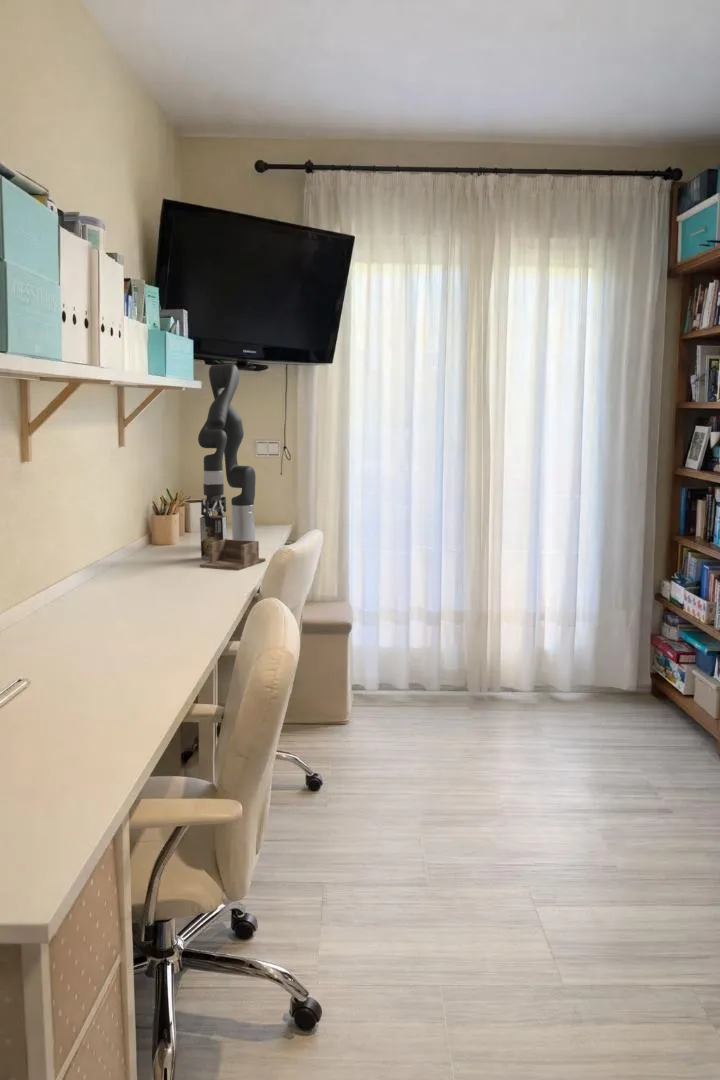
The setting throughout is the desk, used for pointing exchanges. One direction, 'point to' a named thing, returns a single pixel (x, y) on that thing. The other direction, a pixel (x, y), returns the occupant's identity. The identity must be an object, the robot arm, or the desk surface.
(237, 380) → the robot arm
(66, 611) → the desk surface
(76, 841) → the desk surface
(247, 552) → the holder
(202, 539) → the coffee box
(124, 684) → the desk surface
